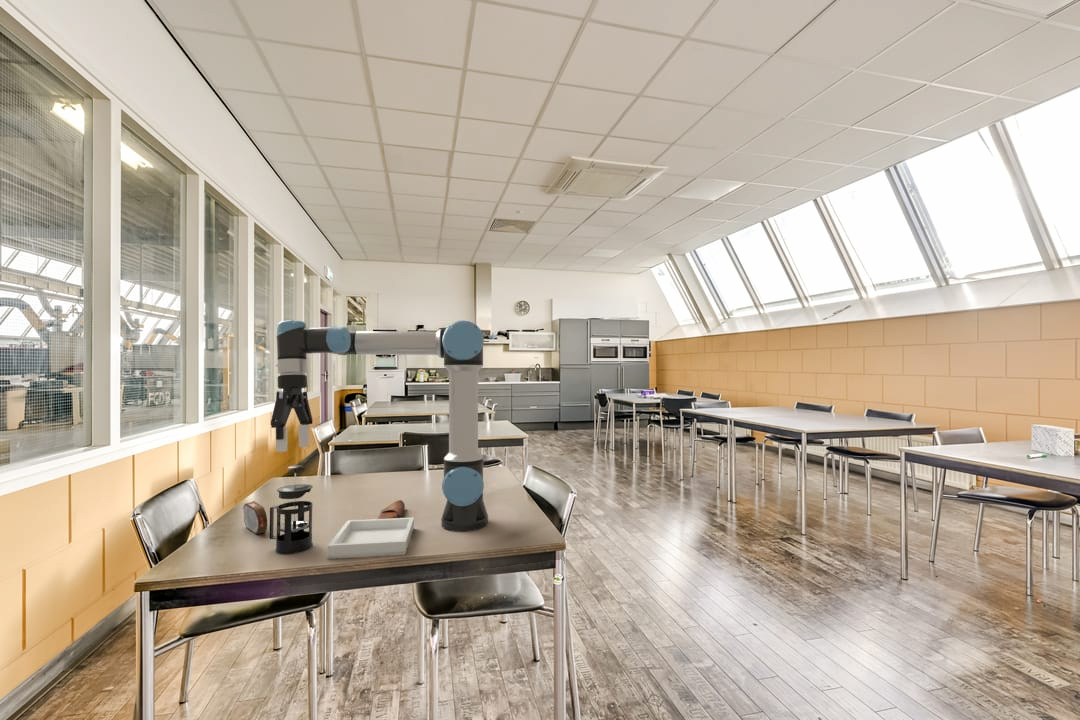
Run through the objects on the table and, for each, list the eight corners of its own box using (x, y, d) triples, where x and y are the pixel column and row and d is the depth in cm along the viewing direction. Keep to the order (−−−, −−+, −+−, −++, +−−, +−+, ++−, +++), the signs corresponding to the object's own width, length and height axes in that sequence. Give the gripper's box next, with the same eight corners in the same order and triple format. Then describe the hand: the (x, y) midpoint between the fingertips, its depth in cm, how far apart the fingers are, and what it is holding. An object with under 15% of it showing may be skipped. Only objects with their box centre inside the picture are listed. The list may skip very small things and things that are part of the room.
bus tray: (413, 528, 151) (413, 517, 151) (405, 554, 130) (405, 541, 130) (347, 531, 148) (347, 520, 148) (327, 559, 126) (327, 545, 126)
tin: (268, 535, 145) (268, 507, 146) (256, 537, 143) (257, 509, 143) (252, 524, 156) (252, 498, 156) (241, 526, 153) (241, 500, 154)
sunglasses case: (380, 510, 171) (390, 493, 172) (397, 519, 173) (407, 502, 174) (374, 525, 154) (385, 507, 155) (393, 535, 155) (404, 517, 156)
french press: (320, 541, 140) (321, 462, 140) (307, 553, 130) (308, 468, 131) (278, 542, 139) (279, 463, 139) (262, 555, 129) (263, 469, 130)
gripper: (298, 377, 150) (299, 445, 148) (255, 373, 125) (255, 455, 123) (323, 376, 150) (324, 444, 149) (284, 371, 125) (285, 453, 124)
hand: (293, 449), depth 136 cm, fingers open, 13 cm apart
